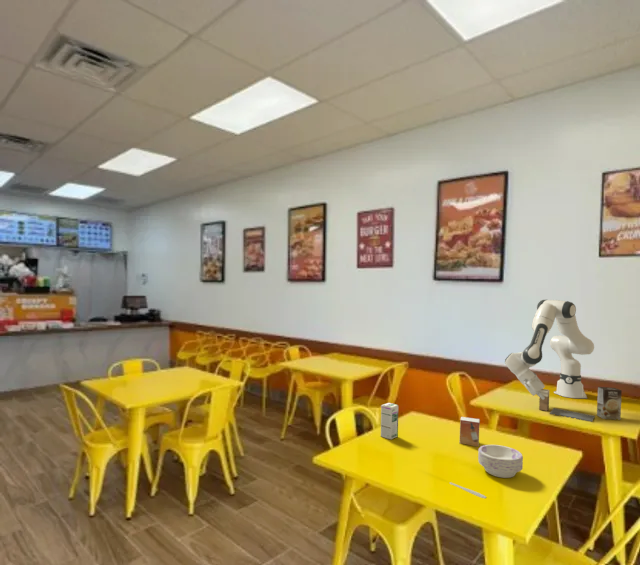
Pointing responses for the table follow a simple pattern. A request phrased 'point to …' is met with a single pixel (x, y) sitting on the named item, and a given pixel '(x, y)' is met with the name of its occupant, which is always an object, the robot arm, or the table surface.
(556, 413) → the mat
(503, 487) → the table surface
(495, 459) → the paper bowls
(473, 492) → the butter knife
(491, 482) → the table surface
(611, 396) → the coffee box
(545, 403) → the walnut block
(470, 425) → the small box
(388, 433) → the syrup box
